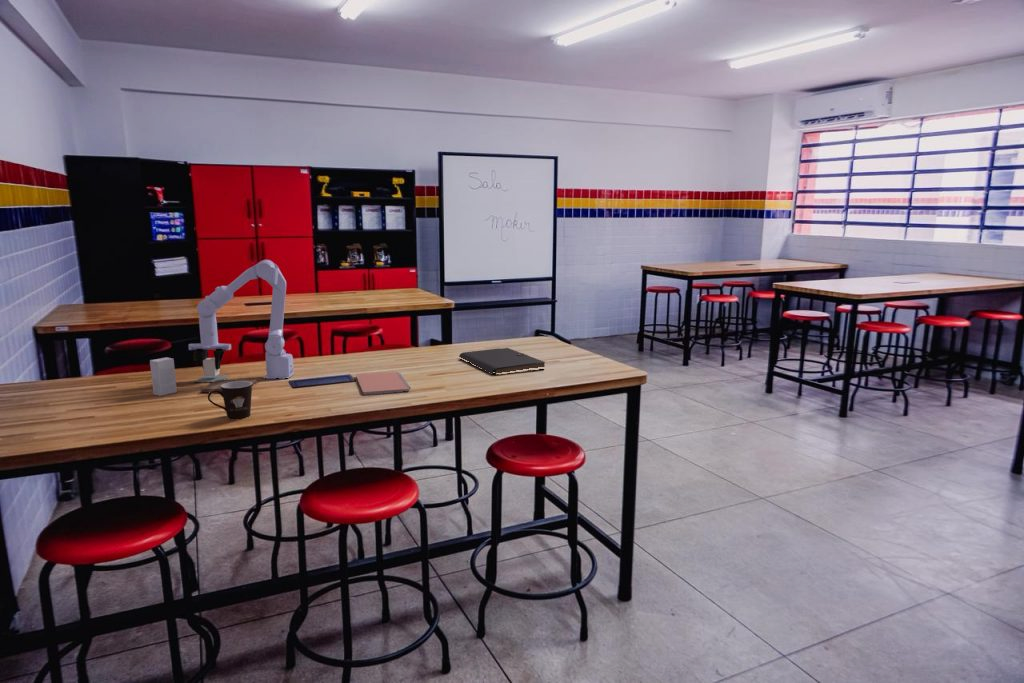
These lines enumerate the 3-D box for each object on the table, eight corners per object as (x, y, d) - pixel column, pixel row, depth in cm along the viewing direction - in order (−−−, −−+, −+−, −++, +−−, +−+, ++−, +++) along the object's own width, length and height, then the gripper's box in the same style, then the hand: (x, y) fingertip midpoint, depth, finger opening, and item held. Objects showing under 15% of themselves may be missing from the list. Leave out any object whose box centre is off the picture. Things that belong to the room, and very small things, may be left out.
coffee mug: (258, 412, 193) (256, 381, 191) (247, 420, 185) (245, 388, 183) (220, 412, 193) (218, 380, 191) (208, 420, 184) (205, 388, 183)
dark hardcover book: (545, 361, 255) (493, 367, 243) (545, 370, 255) (493, 377, 244) (507, 346, 283) (459, 352, 272) (507, 355, 284) (459, 361, 273)
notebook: (412, 393, 219) (412, 387, 219) (363, 397, 214) (363, 391, 213) (399, 375, 244) (399, 370, 244) (355, 378, 239) (355, 373, 239)
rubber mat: (229, 376, 236) (229, 375, 236) (219, 382, 228) (219, 381, 228) (205, 376, 236) (205, 375, 236) (194, 382, 227) (194, 381, 227)
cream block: (219, 373, 233) (218, 358, 232) (215, 376, 229) (214, 360, 228) (208, 373, 233) (207, 358, 232) (204, 376, 229) (202, 360, 228)
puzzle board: (256, 383, 227) (256, 379, 227) (243, 393, 215) (242, 388, 214) (217, 383, 227) (217, 379, 226) (201, 393, 214) (201, 388, 214)
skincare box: (170, 390, 216) (167, 356, 214) (177, 392, 214) (174, 358, 212) (152, 394, 211) (149, 360, 209) (159, 396, 209) (156, 361, 207)
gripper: (183, 334, 224) (186, 371, 227) (224, 334, 225) (227, 371, 227) (192, 331, 231) (195, 366, 234) (232, 331, 232) (234, 366, 234)
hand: (211, 368), depth 231 cm, fingers closed on cream block, 4 cm apart
